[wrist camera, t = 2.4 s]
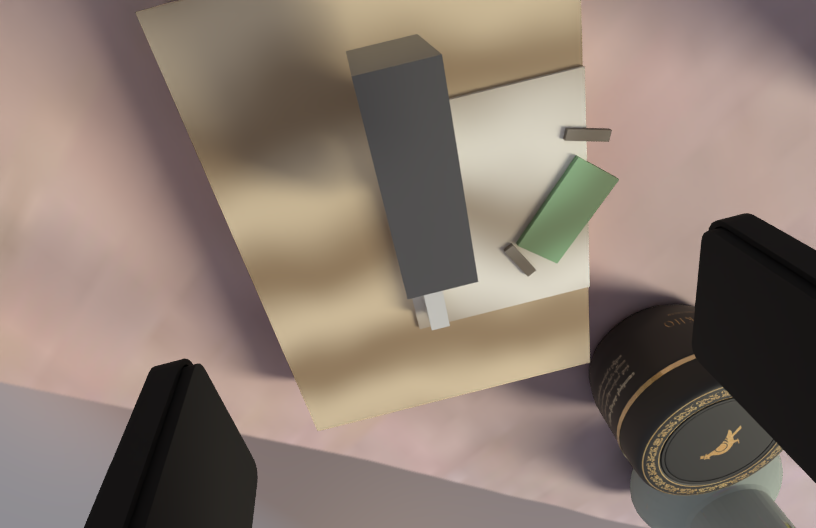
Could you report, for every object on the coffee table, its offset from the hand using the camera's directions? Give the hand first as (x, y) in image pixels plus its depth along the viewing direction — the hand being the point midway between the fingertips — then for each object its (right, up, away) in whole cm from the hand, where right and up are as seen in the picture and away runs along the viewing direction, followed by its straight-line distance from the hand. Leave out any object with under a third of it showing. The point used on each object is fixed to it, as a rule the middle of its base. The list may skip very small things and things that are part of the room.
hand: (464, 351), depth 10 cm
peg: (-1, +5, +13) cm, 14 cm away
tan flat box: (-1, +5, +18) cm, 19 cm away
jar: (+16, -5, +27) cm, 31 cm away
